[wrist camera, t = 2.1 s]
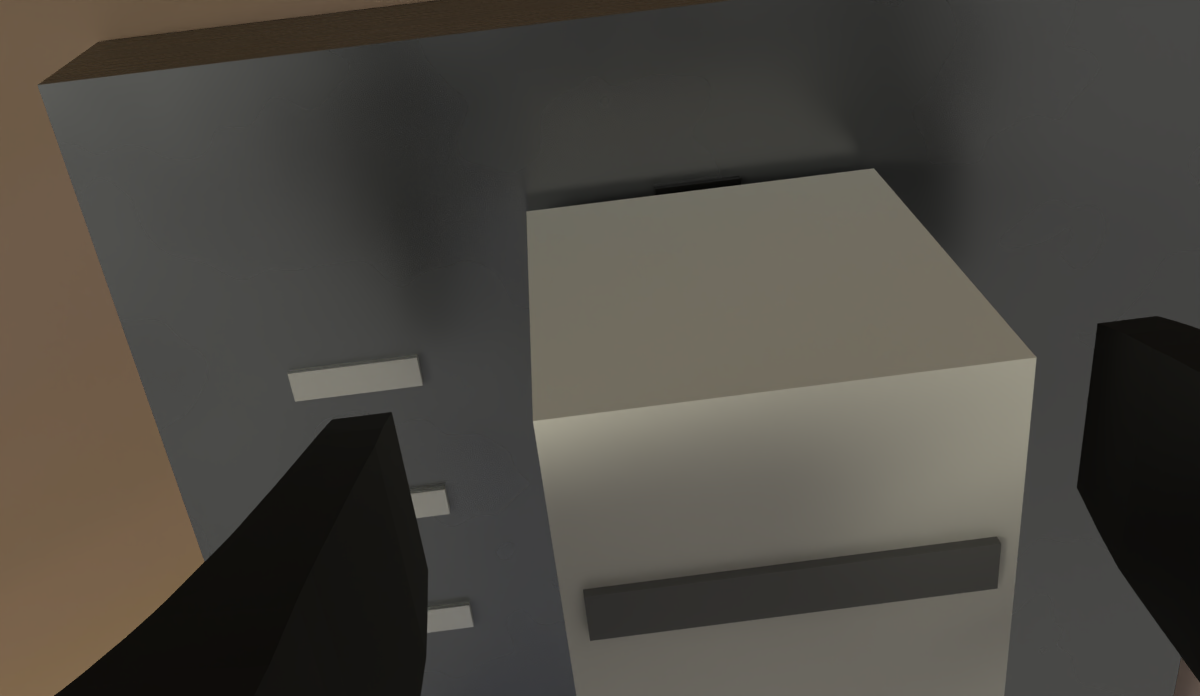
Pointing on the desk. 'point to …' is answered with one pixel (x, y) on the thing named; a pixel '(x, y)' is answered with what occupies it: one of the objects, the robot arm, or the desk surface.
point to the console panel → (599, 174)
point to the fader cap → (775, 444)
